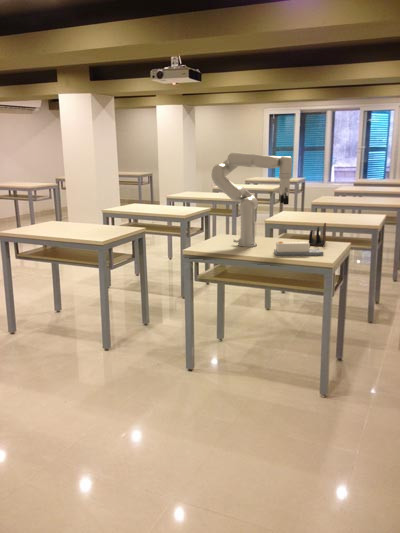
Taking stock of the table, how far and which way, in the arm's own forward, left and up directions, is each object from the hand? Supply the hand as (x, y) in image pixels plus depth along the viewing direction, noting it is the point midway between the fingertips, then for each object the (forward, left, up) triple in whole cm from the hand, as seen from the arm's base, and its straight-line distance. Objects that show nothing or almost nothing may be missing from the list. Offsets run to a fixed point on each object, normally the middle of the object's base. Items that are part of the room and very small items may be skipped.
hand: (284, 203), depth 311 cm
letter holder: (+26, +11, -29) cm, 40 cm away
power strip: (+2, -22, -26) cm, 34 cm away
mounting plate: (+5, -22, -28) cm, 36 cm away
